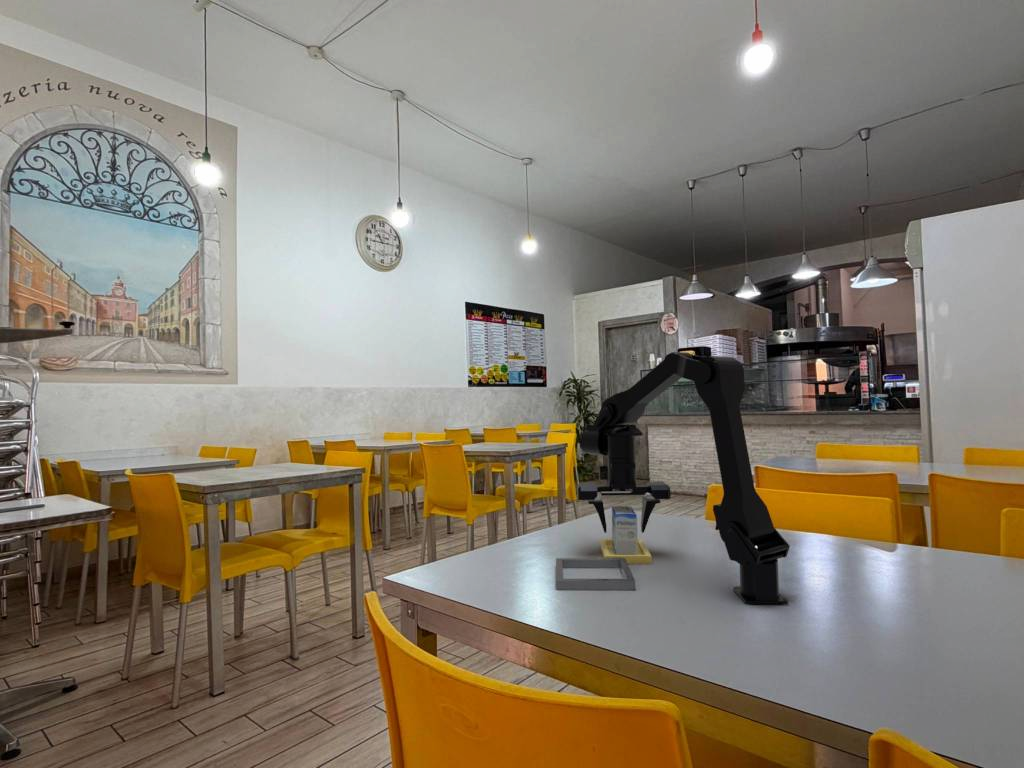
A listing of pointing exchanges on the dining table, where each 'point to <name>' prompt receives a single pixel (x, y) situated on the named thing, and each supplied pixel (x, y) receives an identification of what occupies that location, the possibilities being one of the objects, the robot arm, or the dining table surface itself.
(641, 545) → the tray
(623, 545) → the medicine box
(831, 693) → the dining table surface
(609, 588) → the socket frame
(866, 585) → the dining table surface
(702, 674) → the dining table surface
